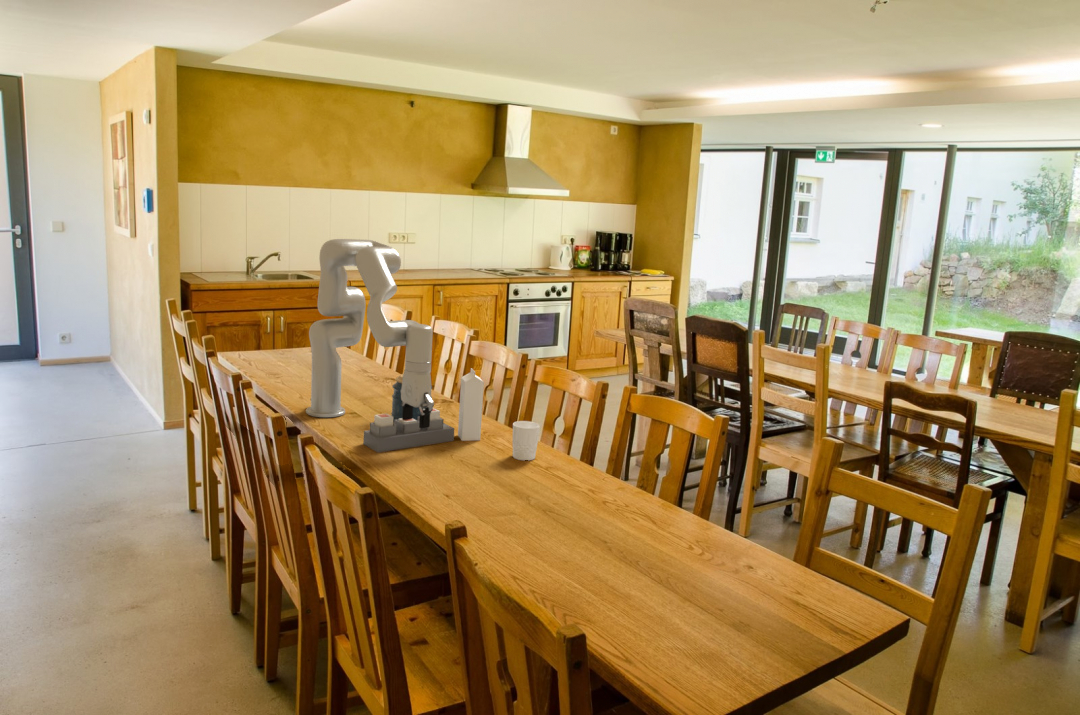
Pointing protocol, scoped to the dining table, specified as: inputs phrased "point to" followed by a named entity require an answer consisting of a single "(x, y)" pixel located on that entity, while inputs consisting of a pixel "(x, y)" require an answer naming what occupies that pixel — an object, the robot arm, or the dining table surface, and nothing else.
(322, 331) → the robot arm
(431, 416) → the button
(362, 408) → the dining table surface
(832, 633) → the dining table surface
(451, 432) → the button panel
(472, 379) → the milk
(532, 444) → the white cup
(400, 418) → the button
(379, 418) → the button
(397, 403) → the canister
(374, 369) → the dining table surface
